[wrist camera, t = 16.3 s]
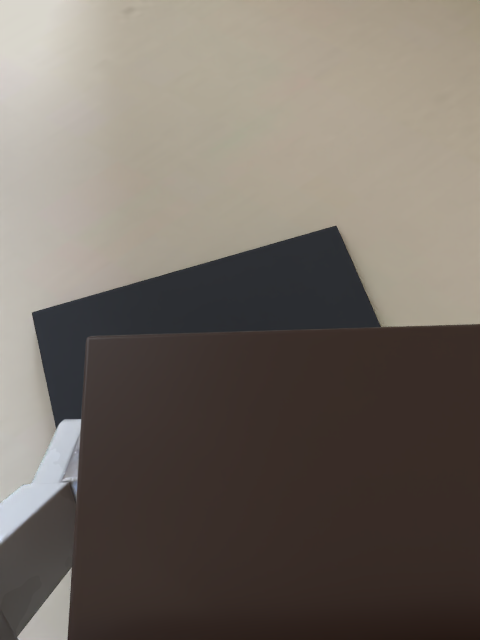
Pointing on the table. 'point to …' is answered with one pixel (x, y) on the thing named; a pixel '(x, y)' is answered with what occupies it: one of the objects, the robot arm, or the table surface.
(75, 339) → the placemat
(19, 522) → the robot arm
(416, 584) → the cake slice
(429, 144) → the table surface
